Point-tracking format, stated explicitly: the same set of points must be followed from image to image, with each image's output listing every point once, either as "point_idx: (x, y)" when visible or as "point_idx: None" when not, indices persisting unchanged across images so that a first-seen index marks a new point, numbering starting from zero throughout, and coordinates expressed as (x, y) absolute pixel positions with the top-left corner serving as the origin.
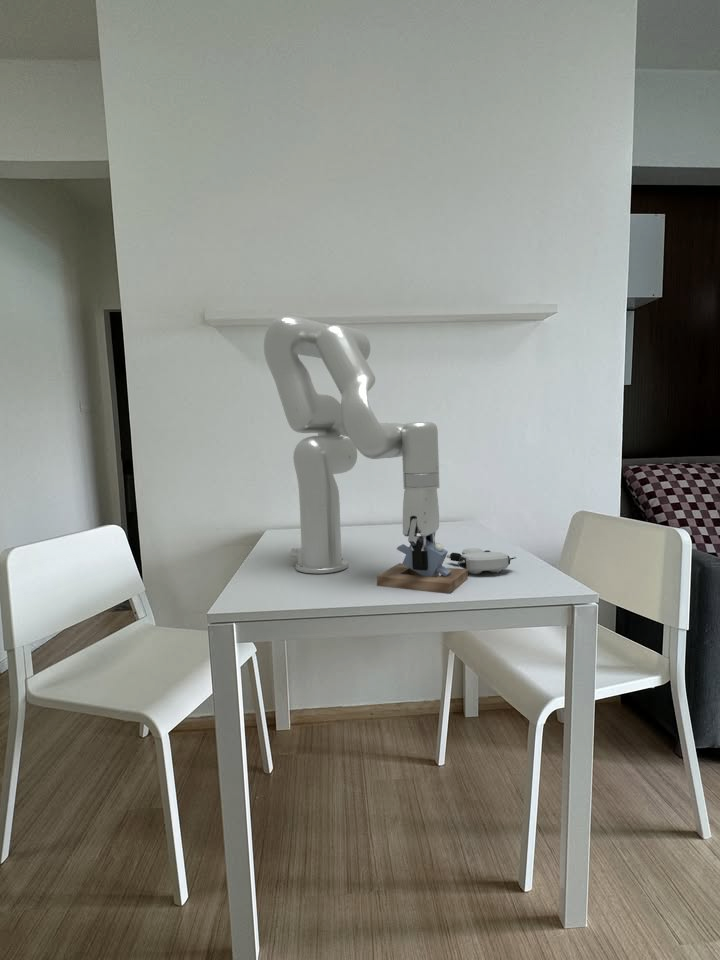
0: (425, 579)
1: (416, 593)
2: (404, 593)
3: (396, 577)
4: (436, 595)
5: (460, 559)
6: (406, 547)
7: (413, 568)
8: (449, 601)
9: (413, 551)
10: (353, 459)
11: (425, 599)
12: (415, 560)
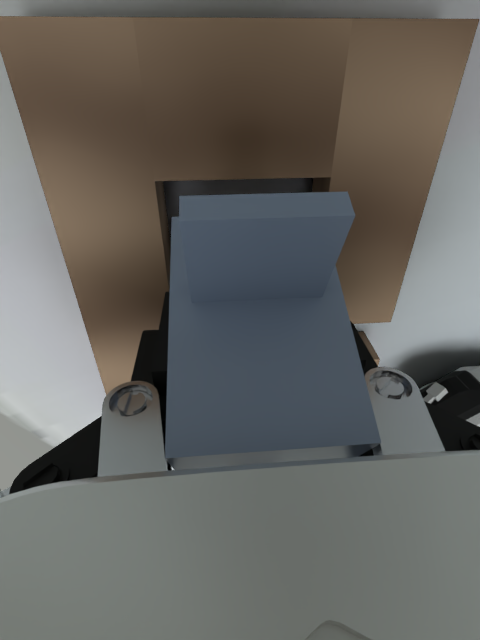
0: (122, 353)
1: (49, 314)
2: (9, 269)
3: (61, 201)
4: (78, 382)
5: (452, 406)
6: (295, 262)
7: (166, 295)
8: (44, 431)
9: (152, 378)
10: None
11: (3, 370)
12: (140, 353)
